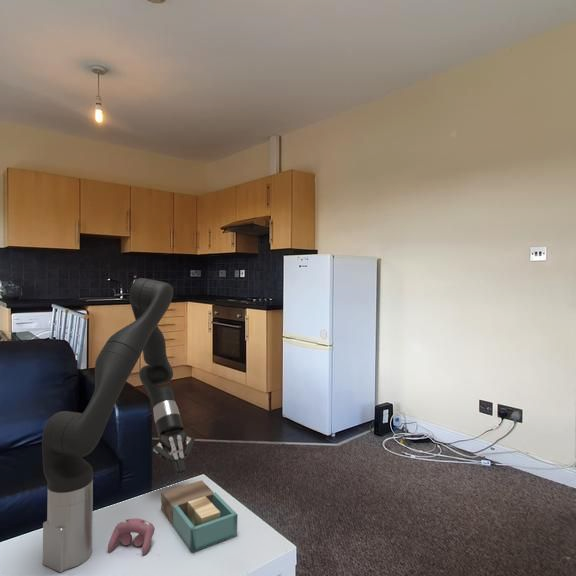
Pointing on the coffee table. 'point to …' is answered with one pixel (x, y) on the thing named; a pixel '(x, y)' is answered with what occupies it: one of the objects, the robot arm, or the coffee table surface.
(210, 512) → the maple block
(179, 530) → the bin
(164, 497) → the brown wooden block
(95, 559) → the coffee table surface
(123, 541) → the pink arched piece
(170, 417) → the robot arm
